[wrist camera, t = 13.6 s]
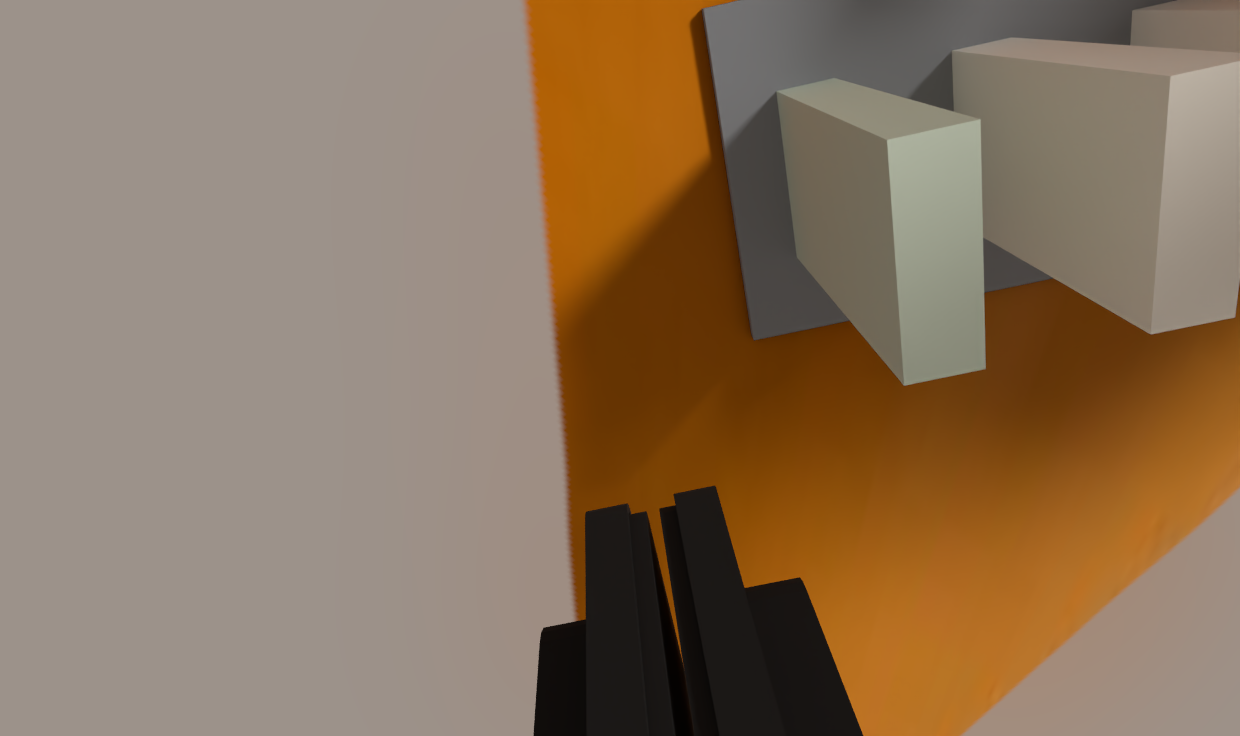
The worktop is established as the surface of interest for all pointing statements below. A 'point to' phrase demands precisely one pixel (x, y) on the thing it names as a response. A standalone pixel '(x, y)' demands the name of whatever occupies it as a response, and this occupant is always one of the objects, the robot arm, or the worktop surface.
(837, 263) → the domino
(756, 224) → the mat
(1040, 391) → the worktop surface
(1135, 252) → the domino
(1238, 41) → the domino
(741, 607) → the robot arm
